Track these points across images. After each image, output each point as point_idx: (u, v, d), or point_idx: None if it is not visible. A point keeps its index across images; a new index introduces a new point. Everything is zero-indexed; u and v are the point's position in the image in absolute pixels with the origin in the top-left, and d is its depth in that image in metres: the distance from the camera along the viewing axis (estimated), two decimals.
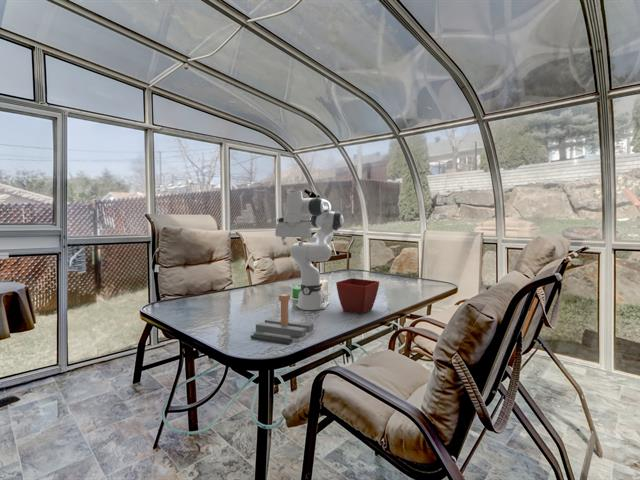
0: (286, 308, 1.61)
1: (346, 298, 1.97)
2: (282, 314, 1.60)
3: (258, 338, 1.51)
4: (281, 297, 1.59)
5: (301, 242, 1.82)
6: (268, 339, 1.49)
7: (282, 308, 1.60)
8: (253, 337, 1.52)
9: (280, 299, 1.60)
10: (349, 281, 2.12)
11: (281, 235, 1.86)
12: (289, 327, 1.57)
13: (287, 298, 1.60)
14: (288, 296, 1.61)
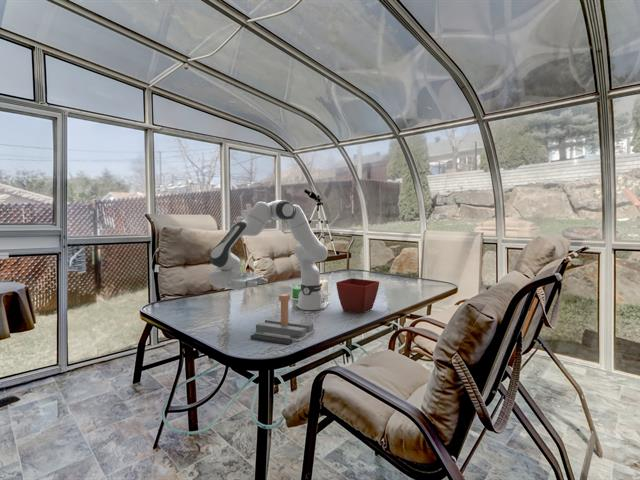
0: (286, 308, 1.61)
1: (346, 298, 1.97)
2: (282, 314, 1.60)
3: (258, 338, 1.51)
4: (281, 297, 1.59)
5: None
6: (268, 339, 1.49)
7: (282, 308, 1.60)
8: (253, 337, 1.52)
9: (280, 299, 1.60)
10: (349, 281, 2.12)
11: (259, 283, 1.73)
12: (289, 327, 1.57)
13: (287, 298, 1.60)
14: (288, 296, 1.61)
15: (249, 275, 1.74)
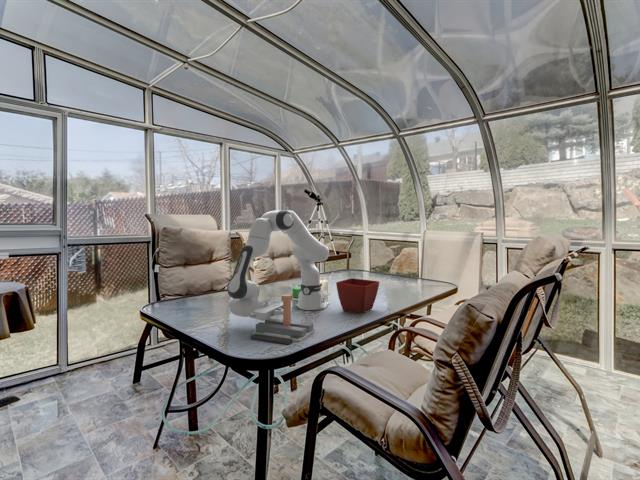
0: (288, 308, 1.60)
1: (346, 298, 1.97)
2: (284, 314, 1.60)
3: (258, 338, 1.51)
4: (283, 297, 1.59)
5: (279, 314, 1.61)
6: (268, 339, 1.49)
7: (284, 308, 1.60)
8: (253, 337, 1.52)
9: (282, 299, 1.59)
10: (349, 281, 2.12)
11: None
12: (289, 327, 1.57)
13: (289, 298, 1.59)
14: (290, 296, 1.60)
15: (270, 303, 1.70)
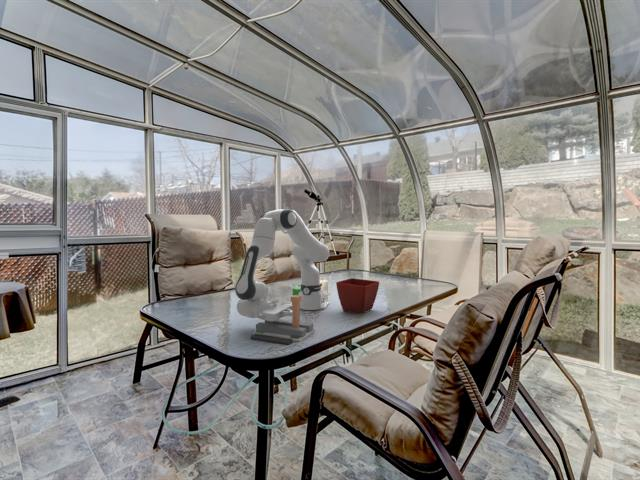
0: (298, 309, 1.58)
1: (346, 298, 1.96)
2: (294, 315, 1.58)
3: (258, 338, 1.51)
4: (293, 298, 1.57)
5: (288, 315, 1.59)
6: (268, 339, 1.49)
7: (294, 309, 1.58)
8: (253, 337, 1.52)
9: (292, 300, 1.57)
10: (349, 281, 2.12)
11: None
12: (289, 327, 1.57)
13: (298, 299, 1.57)
14: (300, 297, 1.59)
15: (279, 304, 1.68)
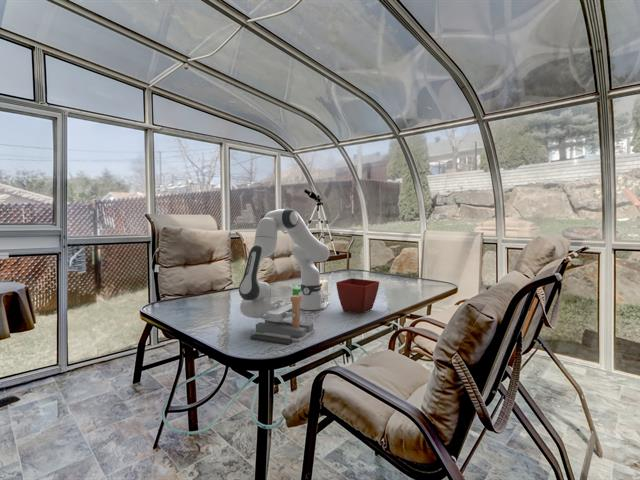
0: (298, 309, 1.58)
1: (346, 298, 1.97)
2: None
3: (258, 338, 1.51)
4: (293, 298, 1.57)
5: None
6: (268, 339, 1.49)
7: (294, 309, 1.58)
8: (253, 337, 1.52)
9: (292, 300, 1.57)
10: (349, 281, 2.12)
11: None
12: (289, 327, 1.57)
13: (298, 299, 1.57)
14: (300, 297, 1.59)
15: (282, 304, 1.67)
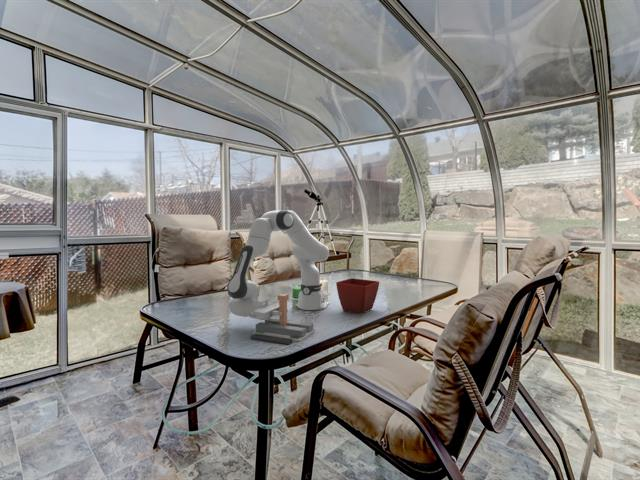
0: (285, 308, 1.61)
1: (346, 298, 1.97)
2: None
3: (258, 338, 1.51)
4: (280, 297, 1.60)
5: None
6: (268, 339, 1.49)
7: (281, 308, 1.60)
8: (253, 337, 1.52)
9: (279, 298, 1.60)
10: (349, 281, 2.12)
11: None
12: (289, 327, 1.57)
13: (285, 297, 1.60)
14: (287, 296, 1.61)
15: (270, 303, 1.70)
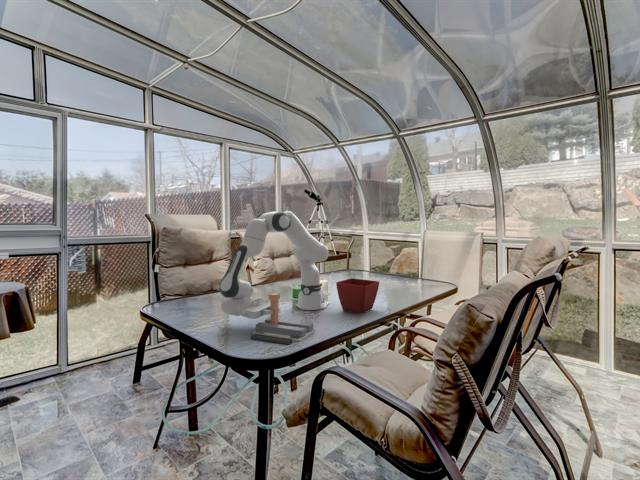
0: (276, 307, 1.63)
1: (346, 298, 1.97)
2: None
3: (258, 338, 1.51)
4: (271, 296, 1.62)
5: None
6: (268, 339, 1.49)
7: (272, 307, 1.62)
8: (253, 337, 1.52)
9: (270, 297, 1.62)
10: (349, 281, 2.12)
11: None
12: (289, 327, 1.57)
13: (276, 296, 1.62)
14: (278, 295, 1.63)
15: (262, 302, 1.72)
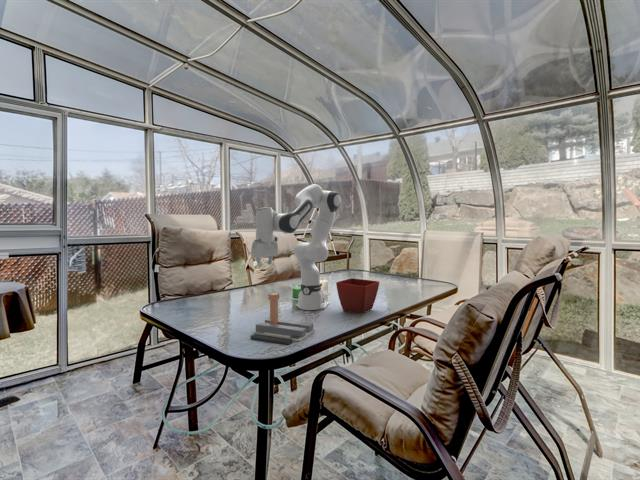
0: (275, 307, 1.63)
1: (346, 298, 1.97)
2: (271, 313, 1.62)
3: (258, 338, 1.51)
4: (270, 296, 1.62)
5: None
6: (268, 339, 1.49)
7: (271, 307, 1.62)
8: (253, 337, 1.52)
9: (269, 297, 1.62)
10: (349, 281, 2.12)
11: None
12: (289, 327, 1.57)
13: (276, 296, 1.62)
14: (277, 295, 1.63)
15: (273, 244, 1.82)
